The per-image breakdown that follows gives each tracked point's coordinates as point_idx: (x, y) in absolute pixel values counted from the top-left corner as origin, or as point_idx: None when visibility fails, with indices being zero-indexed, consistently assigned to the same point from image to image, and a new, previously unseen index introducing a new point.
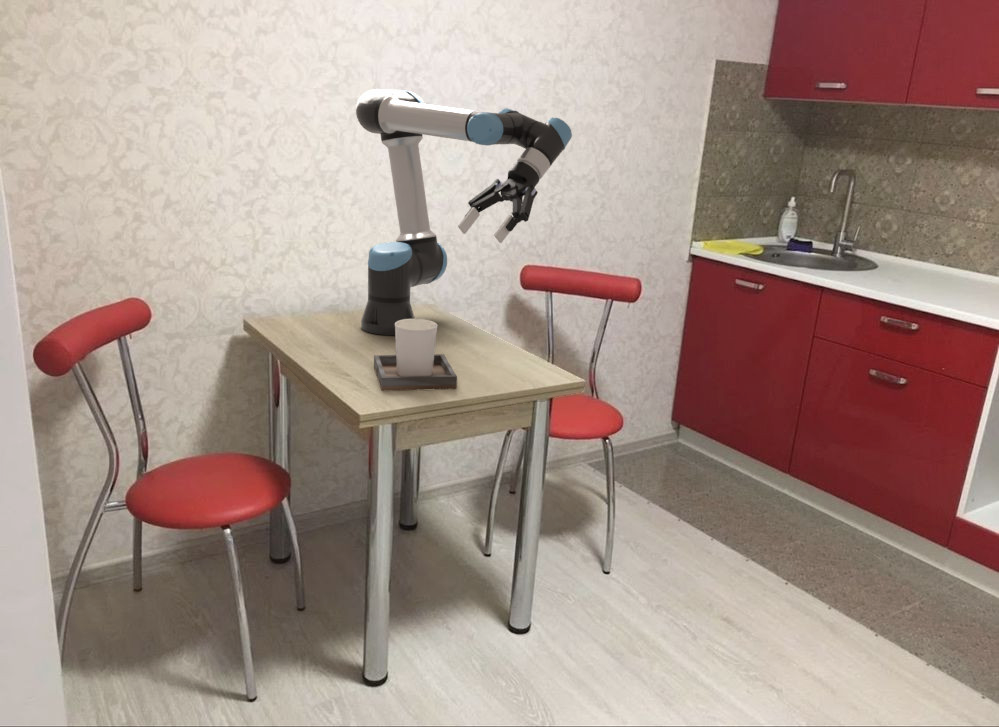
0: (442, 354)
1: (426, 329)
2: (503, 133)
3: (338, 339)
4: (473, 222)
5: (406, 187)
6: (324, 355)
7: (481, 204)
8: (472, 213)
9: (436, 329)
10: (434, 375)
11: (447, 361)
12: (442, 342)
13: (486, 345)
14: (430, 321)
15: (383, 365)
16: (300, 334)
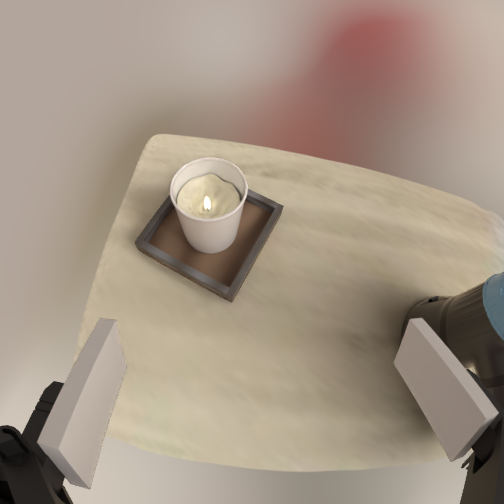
0: (232, 294)
1: (171, 181)
2: None
3: (408, 247)
4: (426, 413)
5: None
6: (351, 195)
7: (488, 472)
8: (459, 403)
9: (176, 209)
10: (186, 247)
11: (196, 276)
12: (341, 381)
13: (289, 440)
14: (211, 218)
15: (265, 216)
16: (436, 221)
